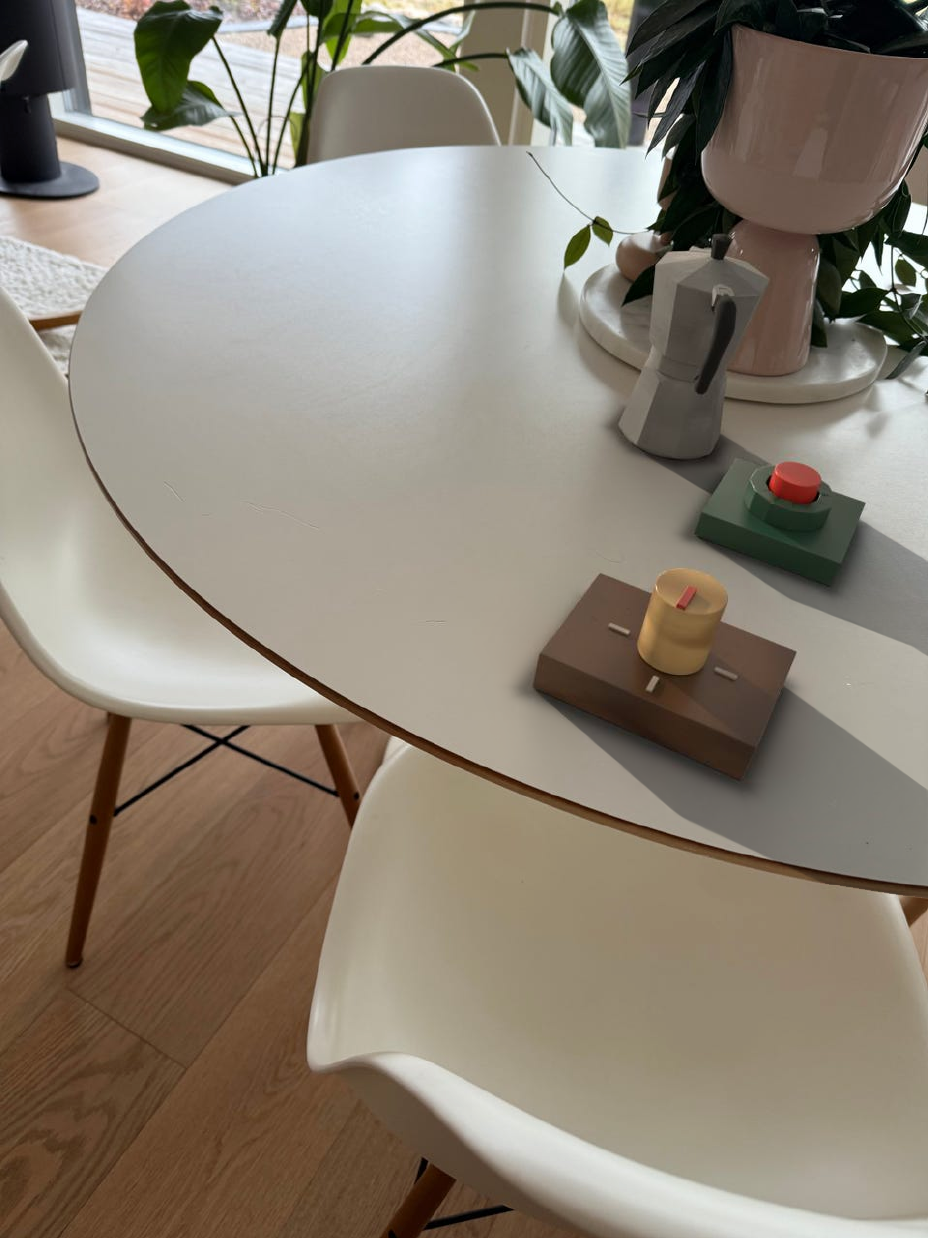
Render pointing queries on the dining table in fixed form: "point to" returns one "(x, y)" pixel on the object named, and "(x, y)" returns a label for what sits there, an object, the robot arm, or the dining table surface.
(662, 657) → the dial
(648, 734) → the panel
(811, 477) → the button
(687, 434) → the coffeepot
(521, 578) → the dining table surface
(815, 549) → the button box
